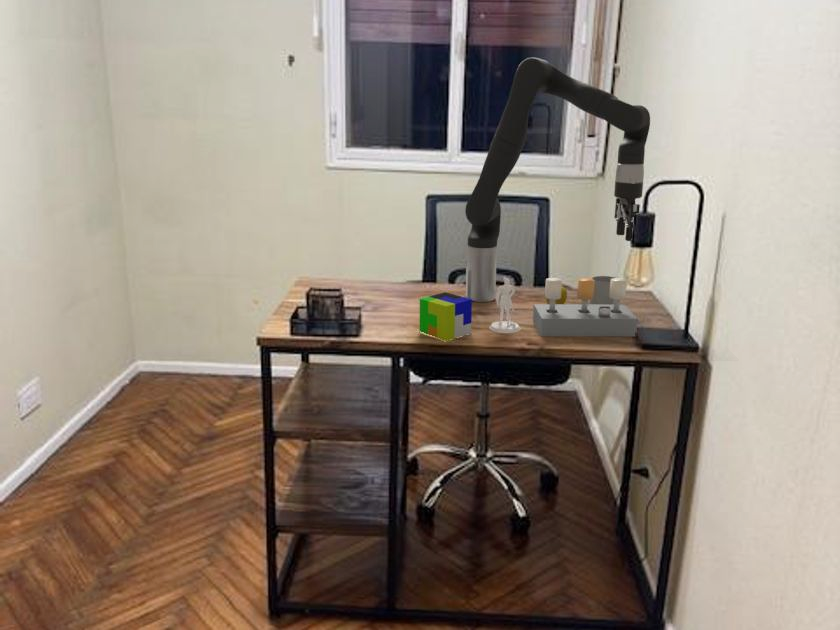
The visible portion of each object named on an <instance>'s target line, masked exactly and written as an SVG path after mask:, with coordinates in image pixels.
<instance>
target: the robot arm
mask: <svg viewBox="0 0 840 630" xmlns="http://www.w3.org/2000/svg"><path fill="white" fill-rule="evenodd" d="M515 71H516V72H515V74H514V78H513V82H512V85H511V88H510V92H509V97H508V100H507V102H506V105H505V107H504V110H503V112H502V115H501V117H500V121H499V122H498V123H499V124H498V126H497V128H496V130H495V132H494V135H493V137H492V140H491V143H490V146H489V149H488V152H487V154H486V156H485V159H484V163H483V166H482V169H481V172H480V175H479V178H478V181H477V182H476V184H475V186H474V189H473V190H472V192H471V194H470V196H469V199H468V200H467V202H466V204H465V210H464V211H465V213H464V214H465V217H466V219H467V221H468V222H469V223H470V224H471V229H470V232H469V234H468V237H467V248H466V249H467V256H466V257H467V259H466V261H467V262H466V267H465V268H466V269H465V298H469V299H472V302H478V303H479V302H481V303H485V302H492V301H494V300H496V295H495V293H496V285H497V284H496V283H497V255H498V239H499V236H500V232H501V231H500V229H501V219H502V218H501V215H502V209H501V208H502V207H501V203H500V201H499V199H498V196H499V193H500V190H501V189H502V186H503V184H504V183H505V182H506V179H508V177H509V175H510V174H511V172H512V171H513V169H514V168H515V166H516V165H517V162H518V161H519V158H520V155H521V153H522V151H523V148H524V146H525V143H526V140H527V137H528V125H529V124H528V123H529V115H530V110H531V108H532V106H533V103H534V101H535V98H536V96H537V94H538V93H543V94H547V95H551V96H555V97H558V98H561V99H563V100H565V101H567V102H568V103H570V104H571V105H574V106H575V107H576V108H578V109H580V110H581V111H583V112H585V113H587V114H589V115H592V116H594V117H596V118H598V119H601V120H603V121H606V122H607V123H608V124H610V125H611V126H613V127H614V128H616V129H618V130H620V131H622V132H623V137H622V141H621V142H620V144H619V146H618V152H617V163H616V170H615V177H614V179H615V180H614V192H613V193H614V194H613V195H614V197H615V198H616V199H615V205H614V206H615V208H614V219H615V221H616V231H615V233H616V235H617V236H624V235H625V237H624V238H625V239H624V240H625V242H632V241H631V239H632V228H633V217H634V214H636V213H639V214H640V207H641V206H640V204H636V199H641V198H642V197H643V191H644V190H643V187H644V178H645V176H644V175H645V166H644V165H645V164H644V162H645V152H646V150H645V147H646V143H647V141H648V136H649V131H650V127H651V115H650V112H649V110H648V109H647V108H646V107H645V106H643V105H641V104H640V105H639V104H637V105H635V104H634V105H632V104H629V103H628V102H625V101H623V100H620V99H619V98H618V97H617V96H616V95H614V94H612V93H610V92H608V91H606V90H604V89H600V88H598V87H596V86H593V85H591V84H587V83H585V82H582V81H580V80H577V79H575V78H574V77H572V76H569V75H568V74H567V73H565V72H563V71H562V70H560V69H558V68H557V67H556V66H554V65H552V64H551V63H550V62H549V61H547V60H545V59H542V58H538V57H527V58H526V59H524V60H523V61H521V62H520V64H519V65H518V67H517V69H516V70H515Z"/></svg>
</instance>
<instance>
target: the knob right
mask: <svg viewBox="0 0 840 630" xmlns="http://www.w3.org/2000/svg"><path fill="white" fill-rule="evenodd" d="M626 280H627V279H626ZM626 280H625V278H621V277H615V278H612V279H611V281H610V294H609V297H610V298H611V299H614V308H613V312H619V307H620V305H621V300H625V299H626V295H627V285H628V281H627V282H626Z"/></svg>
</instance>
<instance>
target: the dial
mask: <svg viewBox="0 0 840 630" xmlns="http://www.w3.org/2000/svg"><path fill="white" fill-rule="evenodd" d="M610 312H611V308H610V307H609V306H600V307H599V311H598V316H599V317H602V318H609V317H610Z"/></svg>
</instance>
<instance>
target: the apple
mask: <svg viewBox="0 0 840 630" xmlns="http://www.w3.org/2000/svg"><path fill="white" fill-rule="evenodd" d="M567 292H568V291H567V289H566V288H565V287H564V286H563V285H562V288H561V298H560V299H556V302H555V304H566V300H567V298H568V293H567ZM545 300H546V303H547V304H550V299H547V298H545Z"/></svg>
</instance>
